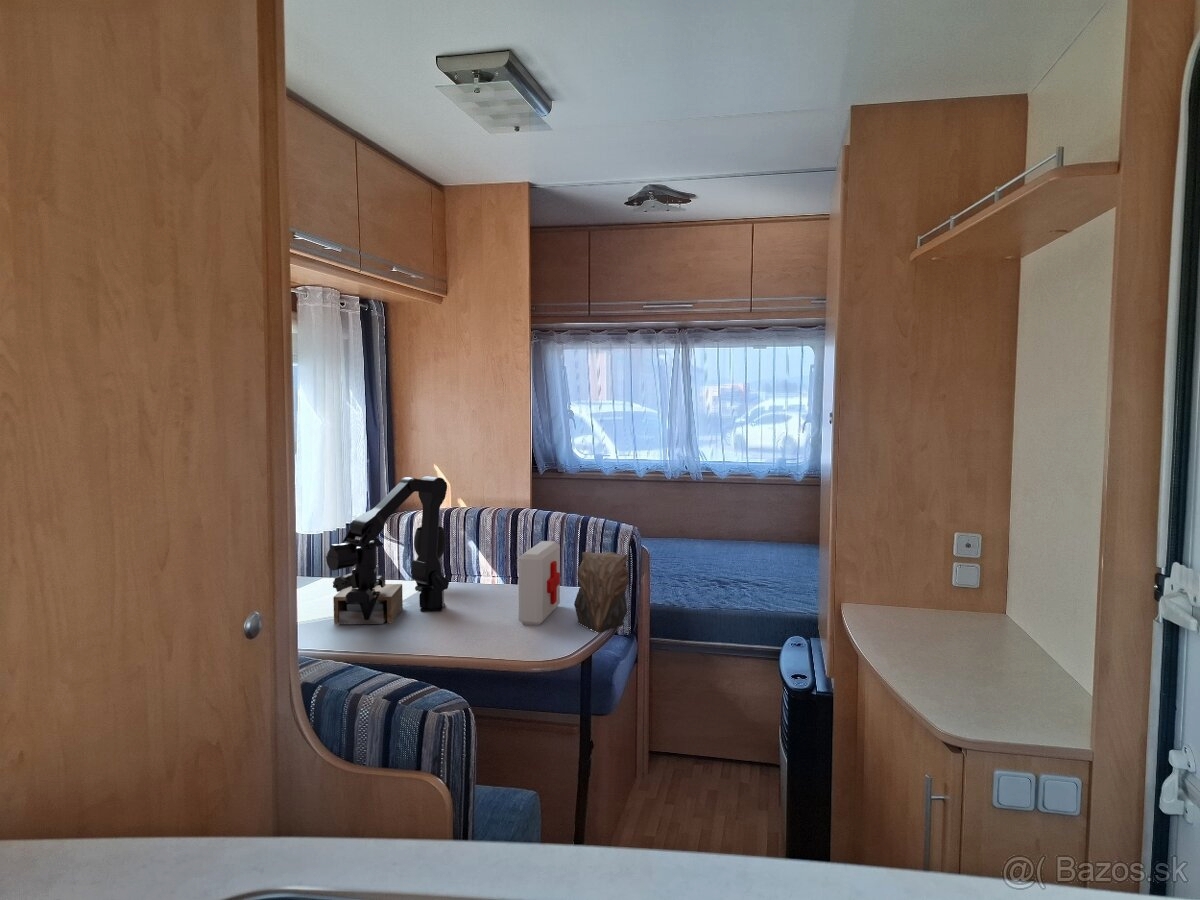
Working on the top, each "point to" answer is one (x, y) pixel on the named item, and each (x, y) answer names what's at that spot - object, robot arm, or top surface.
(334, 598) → the open wooden box
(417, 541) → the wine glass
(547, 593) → the bevelled white case
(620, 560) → the owl
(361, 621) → the shelf board
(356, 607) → the tray
